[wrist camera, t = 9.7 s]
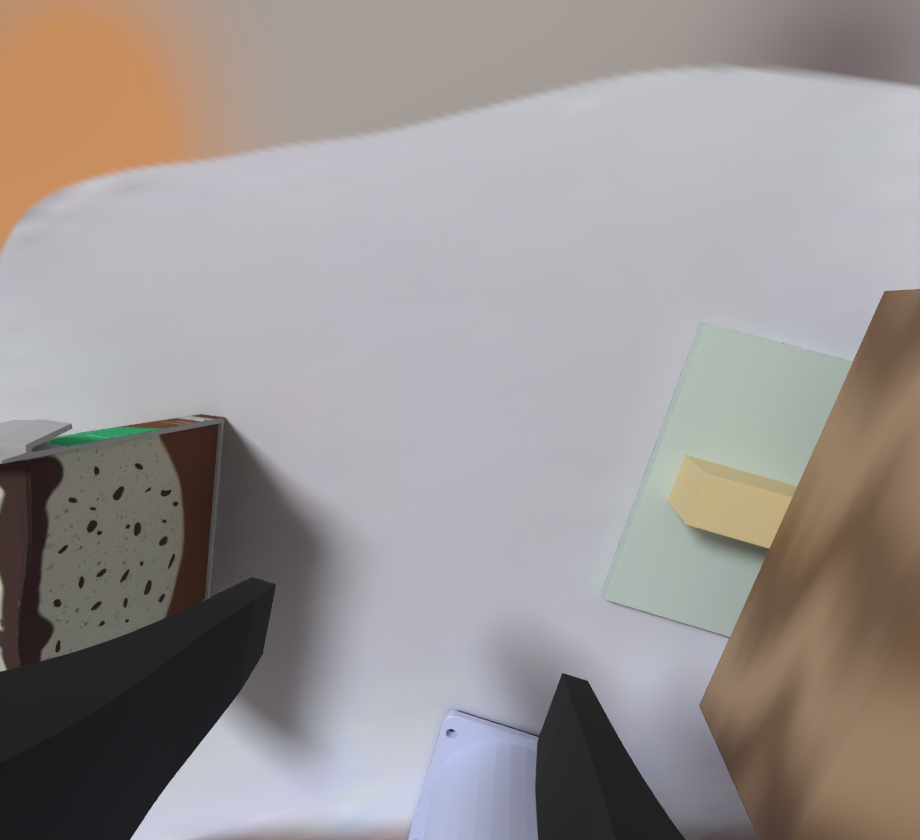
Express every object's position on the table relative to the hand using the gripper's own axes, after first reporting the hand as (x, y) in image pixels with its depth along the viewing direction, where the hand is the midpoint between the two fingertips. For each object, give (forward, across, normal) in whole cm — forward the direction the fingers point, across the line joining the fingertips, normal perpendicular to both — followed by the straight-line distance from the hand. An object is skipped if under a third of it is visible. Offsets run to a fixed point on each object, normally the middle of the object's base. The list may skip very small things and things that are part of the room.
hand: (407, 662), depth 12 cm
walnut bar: (+7, -13, -4) cm, 16 cm away
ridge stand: (+10, -13, -4) cm, 17 cm away
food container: (+11, +14, +4) cm, 18 cm away
